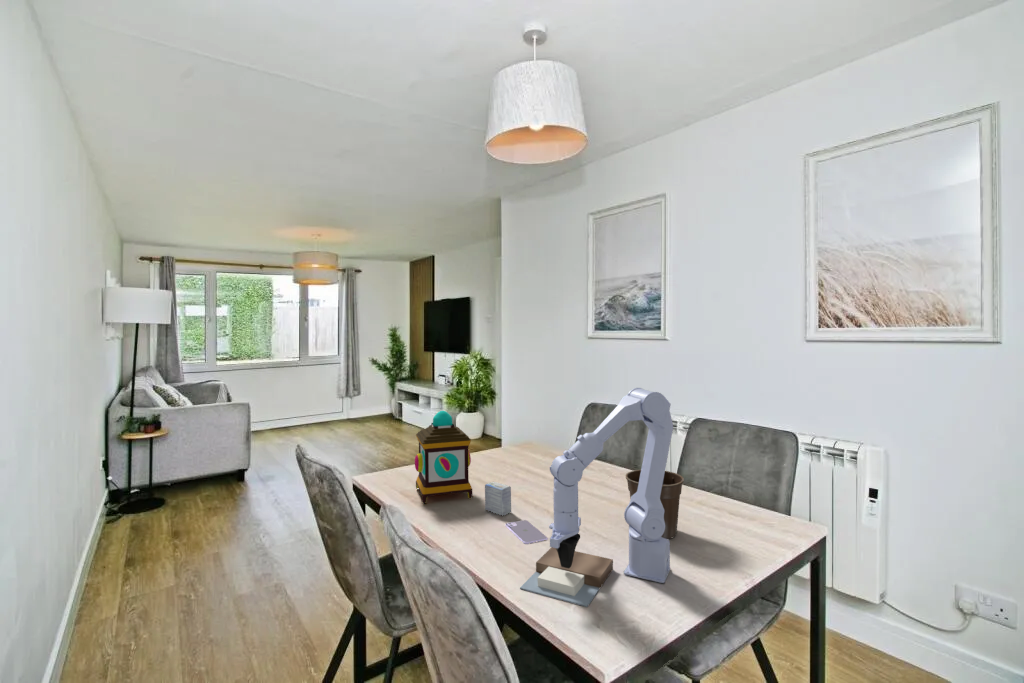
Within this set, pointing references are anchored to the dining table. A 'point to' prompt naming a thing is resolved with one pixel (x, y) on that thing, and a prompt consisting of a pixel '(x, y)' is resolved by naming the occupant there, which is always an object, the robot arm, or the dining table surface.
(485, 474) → the dining table surface
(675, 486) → the plant pot
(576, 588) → the cream block
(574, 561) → the walnut board
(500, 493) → the stack of paper
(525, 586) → the slate mat
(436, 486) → the decorative lantern
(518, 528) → the mobile phone
